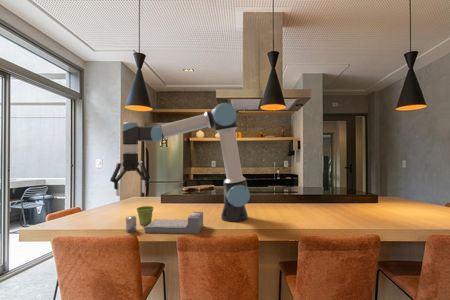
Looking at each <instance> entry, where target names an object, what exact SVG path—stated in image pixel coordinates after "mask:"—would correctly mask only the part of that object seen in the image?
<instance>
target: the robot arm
mask: <svg viewBox="0 0 450 300" xmlns="http://www.w3.org/2000/svg"><path fill="white" fill-rule="evenodd" d="M237 117H238V116H237V110H236V108H235V107H234V106H233V104H231V103H228V102H223V103H219V104H217V105H216V106H215V107H214V108H213V109H211V110H207V111H205V112H204V113H203V114H198V115H195V116H192V117H191V116H190V117H189V118H188V117H187V118H184V119H181V120H176V121H172V122H169V123H164V124H161V125H155V126H140V125H139V124H138V122H123V123H122V131H121V134H122V162H121V163H120V162H117V163H116V164H115V165H116V167H115V170H113V173H112V176H111V177H110V182H111V183H113V188H114V190H115V195H116V196H117V197H120V196H121V193H120V185H121V184H120V180H121V179H122V177H123V176H125V174H126V173H127V172H136V173H137V174H138V175H139V177H140V178H141V193H142V194H146V187H147V185H148V184H147V183H148V180H150V179H151V176H150V174H149V172H148V169H147V168H146V166H145V161H140V162H139V153H138V152H139V142H161V141H162V140H163V139H166V138H170V137H174V136H179V135H182V134H186V133H191V132H193V131H197V130H202V129H206V128H209V129H213V128H214V129H215V130H214V131H215V133H216V134H217V133H218V135H219V143H220V147H221V154H222V158H223V164H224V170H225V171H224V172H225V177H226V178H225V179H224V180H223V202H224V203H223V208H222V211H221V215H220V217H221V220H222V221H225V222H234V223H235V222H243V221H246V220H247V219H248V216H249V215H248V211H247V208H246V205H247V204H248V202H249V200H250V198H251V192H250V189H249V188H248V183H247V182H248V181H247V178H246V177H245V176H243V170H242V165H241V159H240V152H239V147H238V139H237V134H236V130H237V129H238V123H237ZM139 166H140V168H141V170H140V168H139ZM122 167H123V168H122ZM121 168H122V170H121V171H120V169H121Z"/></svg>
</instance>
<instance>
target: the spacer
mask: <svg viewBox="0 0 450 300" xmlns="http://www.w3.org/2000/svg"><path fill="white" fill-rule="evenodd" d="M125 230H126V231H125V232H126V233H128V234H129V233H135V232H137V231H136V230H137V216H135V215H133V216H132V215H131V216H126V217H125Z"/></svg>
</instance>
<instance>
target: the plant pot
mask: <svg viewBox="0 0 450 300" xmlns="http://www.w3.org/2000/svg"><path fill="white" fill-rule="evenodd" d="M154 209H155V207H154V206H153V205H152V206H151V205H144V206H139V207H137V208H136V209H135V210H136V211H137V215H138V219H139V220H138V221H139V224H140V225H142V226H143V225H144V226H147V225H149V224H150V223H151V222H153V221H152V219H153V211H154Z"/></svg>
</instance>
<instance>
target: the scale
mask: <svg viewBox="0 0 450 300" xmlns="http://www.w3.org/2000/svg"><path fill="white" fill-rule="evenodd" d="M187 220H188V226H187V228H164V227H147V226H145V228H144V232H145V233H151V234H152V233H153V234H155V233H156V234H194V235H195V234H199V233H200V232H201V230H202V229H203V227H204V211H193V212H192V213H191V214H190V215H189V216H188V217H187ZM202 226H203V227H202ZM201 228H202V229H201ZM200 229H201V230H200Z"/></svg>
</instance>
